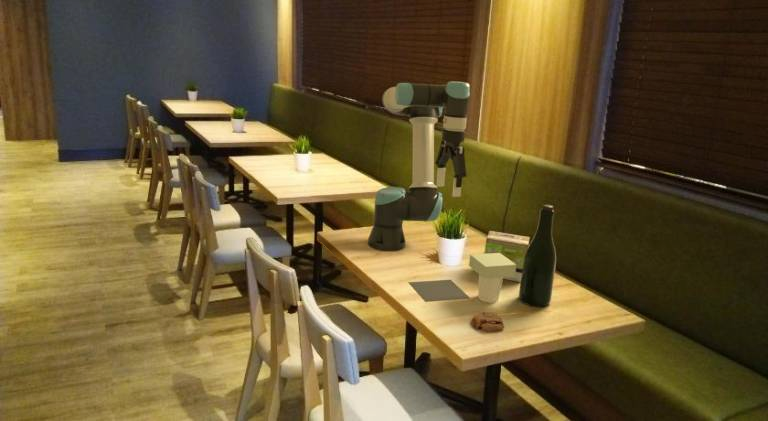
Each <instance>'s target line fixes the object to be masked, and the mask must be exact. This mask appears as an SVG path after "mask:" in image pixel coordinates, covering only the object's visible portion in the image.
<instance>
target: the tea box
mask: <svg viewBox="0 0 768 421" xmlns="http://www.w3.org/2000/svg"><path fill="white" fill-rule="evenodd" d="M529 245H530V236H525V235H524V236H523V235H519V234H513V233H508V232H507V233H506V232H501V231H499V232H498V231H493V230H489V231H488V235H487V237H486V240H485V246H484V253H483V254H489V253H501V254H502V255H503V256H505V257H506V258H508V259H509V260H510V261H512V262H513V263H515V264H516V272H515V276H514V277H503V280H509V281H514V282H519V283H520V282H521V276H522V270H523V264H524V259H525V254H526V251H527V248H528V246H529Z"/></svg>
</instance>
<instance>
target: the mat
mask: <svg viewBox="0 0 768 421" xmlns="http://www.w3.org/2000/svg"><path fill="white" fill-rule="evenodd" d="M407 284H408V285H410V287H412V289H413V290H414V291H415V292H416V293H417V294H418V296H420V298H421V299H422V300H423V301H424V302H425V303H428V302H440V301H441V302H443V301H452V300H453V301H454V300H455V301H457V300H465V299H466V300H467V299H471V297H470V296H469V295H468V294H467V293H465V291H464V290H463V289H461V288H460V287H459V285H457V284H456V283H455V282H454V281H453V280H452V279H441V280H438V279H437V280H424V281H423V280H422V281H411V282H410V281H409V282H407Z"/></svg>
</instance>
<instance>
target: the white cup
mask: <svg viewBox="0 0 768 421" xmlns="http://www.w3.org/2000/svg"><path fill="white" fill-rule="evenodd" d="M503 281H504V279H503V277H499V278H485V279H484V278H483V277H482V276H481V275H479V274H478V284H477V285H478V287H477V288H478V294H477V298H478V300H480V301H482V302H484V303H491V304H493V303H497V302H499V298H500V293H501V289H502V285H503Z"/></svg>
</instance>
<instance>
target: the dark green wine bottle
mask: <svg viewBox="0 0 768 421" xmlns="http://www.w3.org/2000/svg"><path fill="white" fill-rule="evenodd" d="M554 216H555V210H554V206H553V205H551V204H543V205H542V208H540V210H539V218H538V224H537V229H536V232H535V233H534V236H533V238H532V240H531V241H530V242H529V246H528V248H527V251H526V254H525V259H524V264H523V270H522V276H521V282H519V283H520V284H519V291H518V299H519V301H520V302H522V303H524V304H526V305H529V306H531V307H538V308H539V307H541V308H542V307H547V306H548V305H550V304H551V301H552V300H551V299H552V297H553V296H552V294H553V290H554V280H555V275H556V274H555V273H556V264H557V254H556V247H555V244H554V238H553V222H554Z"/></svg>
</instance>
